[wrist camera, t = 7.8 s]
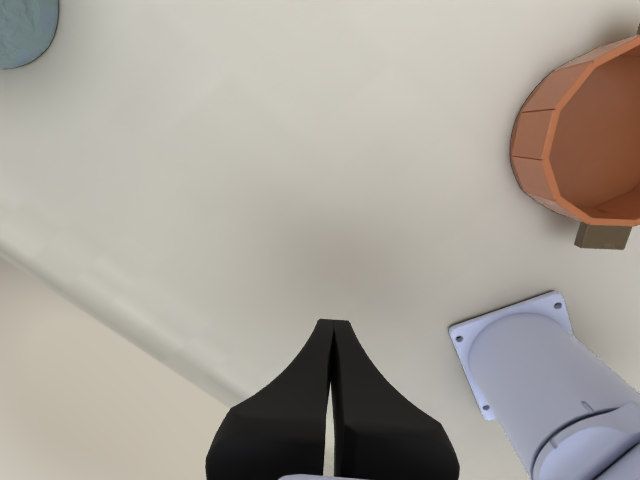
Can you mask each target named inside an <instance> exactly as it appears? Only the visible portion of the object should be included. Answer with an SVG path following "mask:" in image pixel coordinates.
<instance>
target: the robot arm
mask: <svg viewBox="0 0 640 480" xmlns="http://www.w3.org/2000/svg"><path fill="white" fill-rule="evenodd" d="M556 303H558V304H557V305H556V306H554V305H555V304H556ZM449 334H450V337H451V339H452V342H453V344H454V346H455V349H456V351H457V354H458V356H459V359H460V361H461V364H462V366H463V369H464V371H465V374H466V376H467V379H468V381H469V384H470V386H471V389H472V391H473V394H474V396H475V399H476V401H477V404H478V406H479V409H480V411H481V414H482V416H483V418H484V419H485V420H487V421H492V420H495V419H498V421H499V423H500V425H501V427H502V428H503V430H504V432H505V434H506V436H507V437H508V439H509V441H510V443H511V445H512V446H513V448H514V450H515V452H516V454H517V455H518V457H519V459H520V461H521V463H522V464H523V466H524V468H525V470H526V472H527V473H528V475H529V477H530V479H531V480H640V393H639V392H637V391H636V390H635V389H634V388H633V387H632V386H630V385H629V384H628V383H627V382H626V381H625V380H623V379H622V378H621V377H620V376H619V375H618V374H617V373H615V372H614V371H613V370H612V369H611V368H610V367H608V366H607V365H606V364H605V363H604V362H603V361H602V360H600V359H599V358H598V357H597V356H596V355H595V354H593V353H592V352H591V351H590V350H589V349H588V348H586V347H585V346H584V345H583V344H582V343H581V342H580V341H578V340H577V339H576V338H575V337H574V335H573V331H572V327H571V324H570V320H569V316H568V312H567V309H566V305H565V301H564V298H563V296H562V295H561V294H560V293H559V292H556V291H553V292H549V293H546V294H543V295H541V296H538V297H535V298H532V299H529V300H526V301H523V302H520V303H517V304H515V305H512V306H509V307H506V308H503V309H500V310H497V311H494V312H491V313H488V314H486V315H483V316H480V317H477V318H474V319H471V320H468V321H465V322H462V323H460V324H457V325H454V326H452V327H451V328H450V329H449ZM458 336H461V337H460V338H459V339H456V337H458ZM330 383H331V391H332V405H333V419H334V438H335V445H334V477H330V476H323V467H324V451H325V430H326V412H327V405H328V397H329V390H330ZM485 405H486V406H485ZM205 468H206V477H207V480H458V478H459V470H460V466H459V463H458V459H457V456H456V453H455V451H454V448H453V446H452V444H451V442H450V440H449V438H448V436H447V434H446V432H445V430H444V428H443V426H442V425H441V423H439V422H438V421H436V420H435V419H433V418H432V417H430V416H429V415H427V414H426V413H424V412H423V411H421V410H420V409H419V408H417V407H416V406H415V405H413V404H412V403H411V402H410V401H408V400H407V399H406V398H405V397H404V396H402V395H401V394H400V393H399V392H398V391H397V390H396V389H395V388H394V387H393V386H392V385H391V384H390V383H389V382H388V381H387V380H386V379H385V378H384V377H383V375H382V374H381V373H380V372H379V371H378V369H377V368H376V367H375V366H374V364H373V363H372V361H371V360H370V359H369V357H368V356H367V354H366V353H365V351H364V349H363V348H362V346H361V344H360V343H359V341H358V339H357V337H356V335H355V333H354V331H353V329H352V326H351V323H350V322H349V321H345V320H330V319H319V320H318V321H317V324H316V326H315V329H314V331H313V332H312V334H311V336H310V338H309V339H308V341H307V342H306V344H305V345H304V347H303V348H302V350H301V351H300V352H299V354H298V355H297V356H296V358H295V359H294V360H293V361H292V362H291V363H290V364H289V366H288V367H287V368H286V369H285V370H284V371H283V372H282V373H281V374H280V375H279V376H277V377H276V378H275V379H274V380H273V381H272V382H271V383H270V384H268V385H267V386H266V387H264V388H263V389H262V390H260V391H259V392H258V393H256V394H255V395H253V396H252V397H250V398H248V399H247V400H245V401H243V402H241V403H240V404H238V405H236V406H234V407H232V408H231V409H230V410H229V412H228V413H227V415H226V417H225V419H224V420H223V422H222V424H221V425H220V427H219V429H218V431H217V433H216V435H215V437H214V439H213V442H212V444H211V447H210V450H209V452H208V454H207V457H206V466H205Z"/></svg>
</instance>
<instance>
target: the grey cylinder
mask: <svg viewBox="0 0 640 480" xmlns="http://www.w3.org/2000/svg"><path fill="white" fill-rule="evenodd" d="M58 10H59V6H58V0H0V69H8V68H16V67H18V66H22V65H24V64H27V63H29V62H31V61H33V60H34V59H35V58H36V57H39V56H41V53H42V52H45V50H46V49H47V48H48V47H49V45H50V43H51V41H52V39H53V37H54V34H55V30H56V26H57V20H58Z"/></svg>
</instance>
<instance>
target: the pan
mask: <svg viewBox="0 0 640 480" xmlns="http://www.w3.org/2000/svg"><path fill="white" fill-rule="evenodd" d="M510 159H511V165H512V169H513V173H514V175H515V177H516V180H517V182H518V183H519V185H520V186H521V188H522V189H523V190H524V191H525V193H526V194H527V195H528V196H530V197H531V198H532V199H533V200H535V201H536V202H538V203H540V204H541V205H544V206H546V207H547V208H548V209H550V210H551V211H553V212H555V213H558V214H561V215H564V216H566V217H569V218H572V219H574V220H577V221H580V222H581V223H580V226H579V229H578V233H577V236H576V239H575V243H574V245H576V246H578V247H580V248H593V249H618V250H624V248H625V245H626V243H627V240H628V237H629V234H630V231H631V229H632V226H637V225H640V24H639V27H638V31H637V34H636V35H635V36H632V37H629V38H626V39H623V40H620V41H617V42H614V43H611V44H608V45H605V46H602V47H598V48H596V49H594V50H592V51H590V52H588V53H586V54H585V55H583V56H580V57H578V58H575V59H573V60H571V61H569V62H567V63H566V64H564V65H562V66H561V67H559V68H557V69H556V70H554V71H553V72H552V73H551V74H550V75H548V76H547V77H546V78H545V79H544V80H543V81H542V82H541V83H540V84H539V85H538V86H537V87H536V88H535V90H534V91H533V92H532V93H531V94H530V96H529V97H528V99H527V100H526V102H525V103H524V105H523V107H522V109H521V110H520V112H519V114H518V117H517V119H516V122H515V124H514V128H513V131H512V136H511V143H510Z"/></svg>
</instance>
